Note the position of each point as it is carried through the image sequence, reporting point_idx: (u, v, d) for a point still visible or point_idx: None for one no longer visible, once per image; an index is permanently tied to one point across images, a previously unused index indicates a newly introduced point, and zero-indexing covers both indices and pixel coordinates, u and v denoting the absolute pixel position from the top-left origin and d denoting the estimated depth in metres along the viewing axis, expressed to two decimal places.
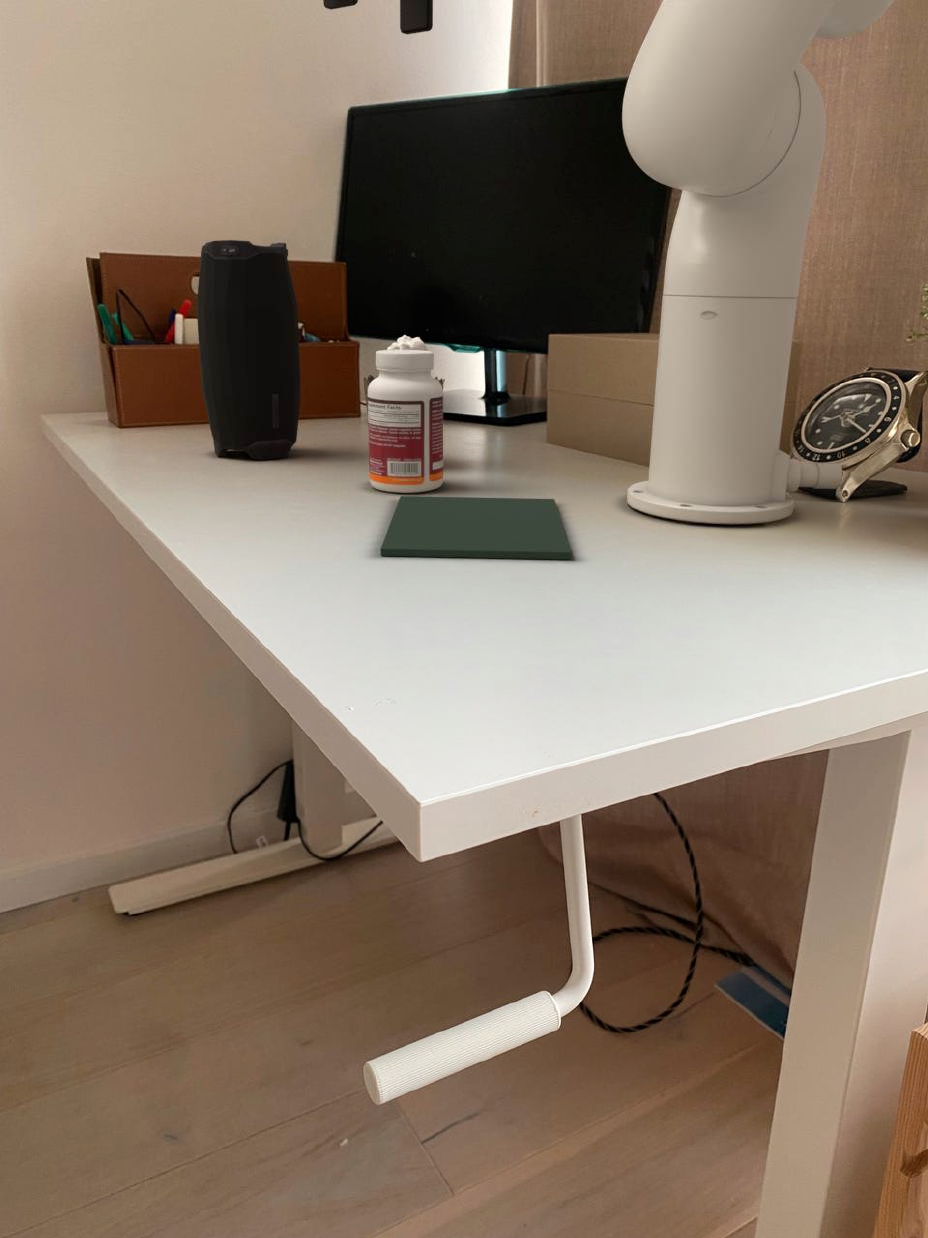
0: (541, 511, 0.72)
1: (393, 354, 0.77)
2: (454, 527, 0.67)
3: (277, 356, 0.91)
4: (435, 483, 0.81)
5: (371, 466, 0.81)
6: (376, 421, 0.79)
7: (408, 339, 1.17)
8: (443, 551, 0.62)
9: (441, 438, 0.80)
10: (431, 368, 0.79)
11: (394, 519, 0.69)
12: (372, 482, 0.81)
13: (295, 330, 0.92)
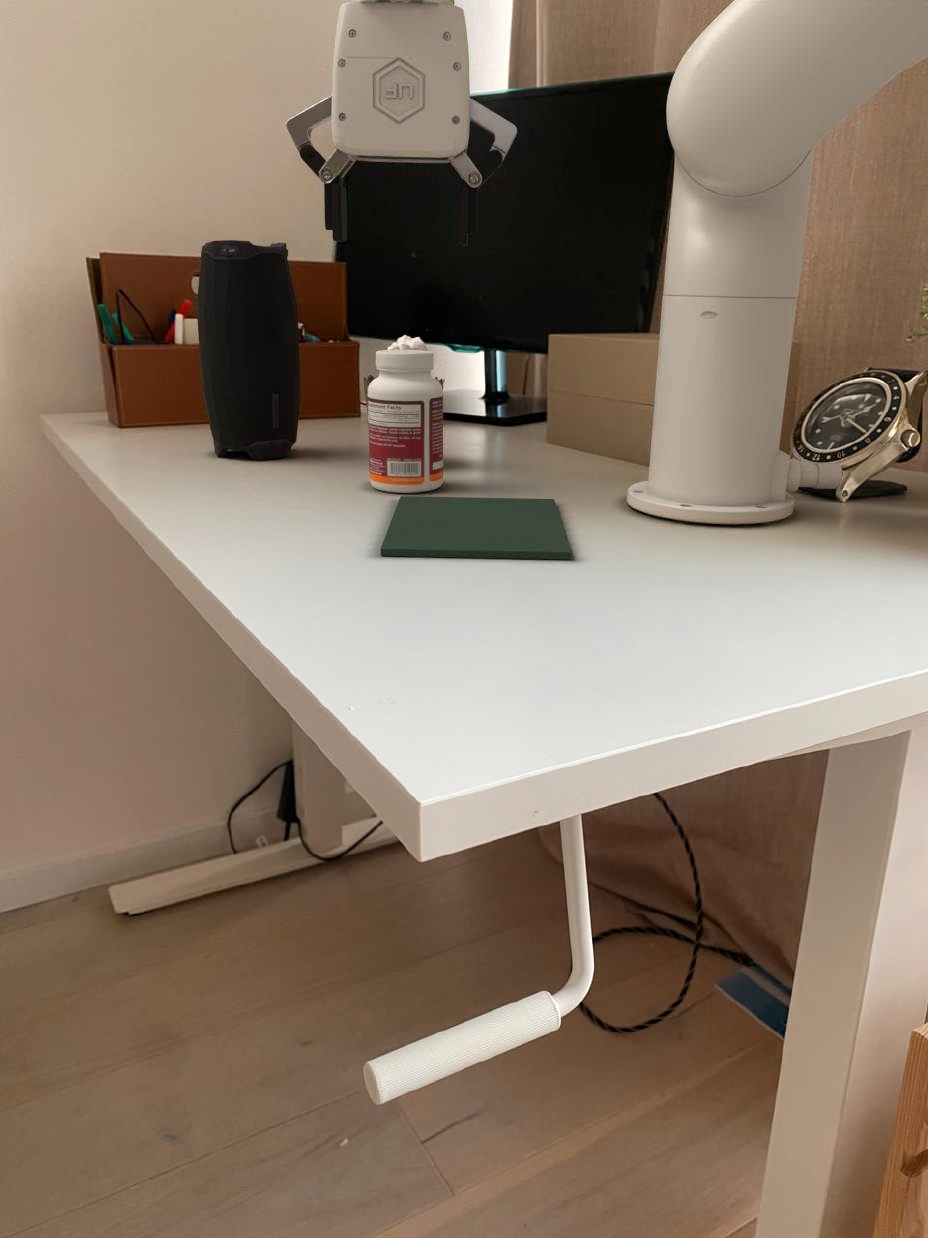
0: (541, 511, 0.72)
1: (393, 354, 0.77)
2: (454, 527, 0.67)
3: (277, 356, 0.91)
4: (435, 483, 0.81)
5: (371, 466, 0.81)
6: (376, 421, 0.79)
7: (408, 339, 1.17)
8: (443, 551, 0.62)
9: (441, 438, 0.80)
10: (431, 368, 0.79)
11: (394, 519, 0.69)
12: (372, 482, 0.81)
13: (295, 330, 0.92)
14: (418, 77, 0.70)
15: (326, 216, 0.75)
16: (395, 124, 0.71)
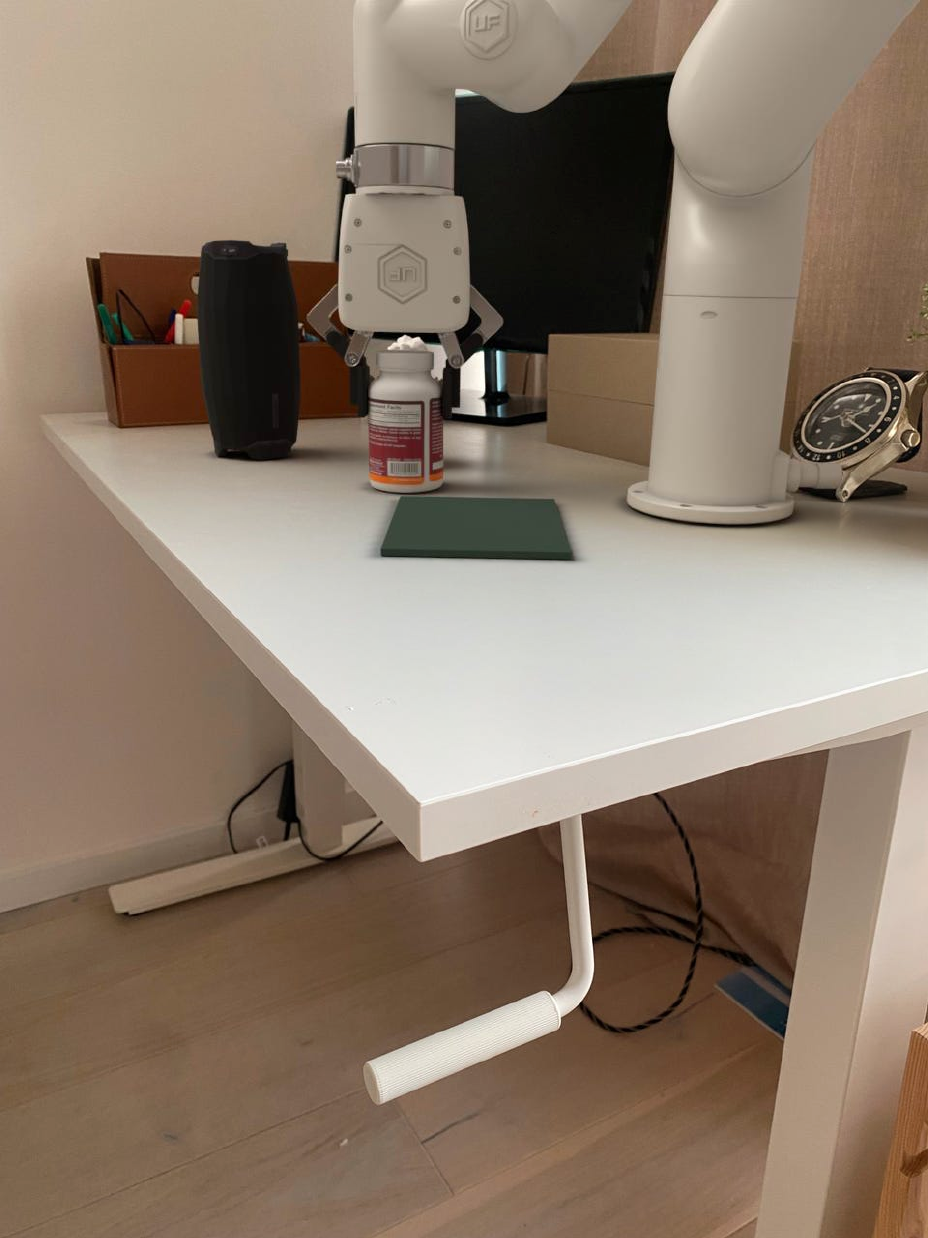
0: (541, 511, 0.72)
1: (393, 354, 0.77)
2: (454, 527, 0.67)
3: (277, 356, 0.91)
4: (435, 483, 0.81)
5: (371, 466, 0.81)
6: (376, 421, 0.79)
7: (408, 339, 1.17)
8: (443, 551, 0.62)
9: (441, 438, 0.80)
10: (431, 368, 0.79)
11: (394, 519, 0.69)
12: (372, 482, 0.81)
13: (295, 330, 0.92)
14: (421, 262, 0.74)
15: (351, 395, 0.79)
16: (399, 304, 0.75)
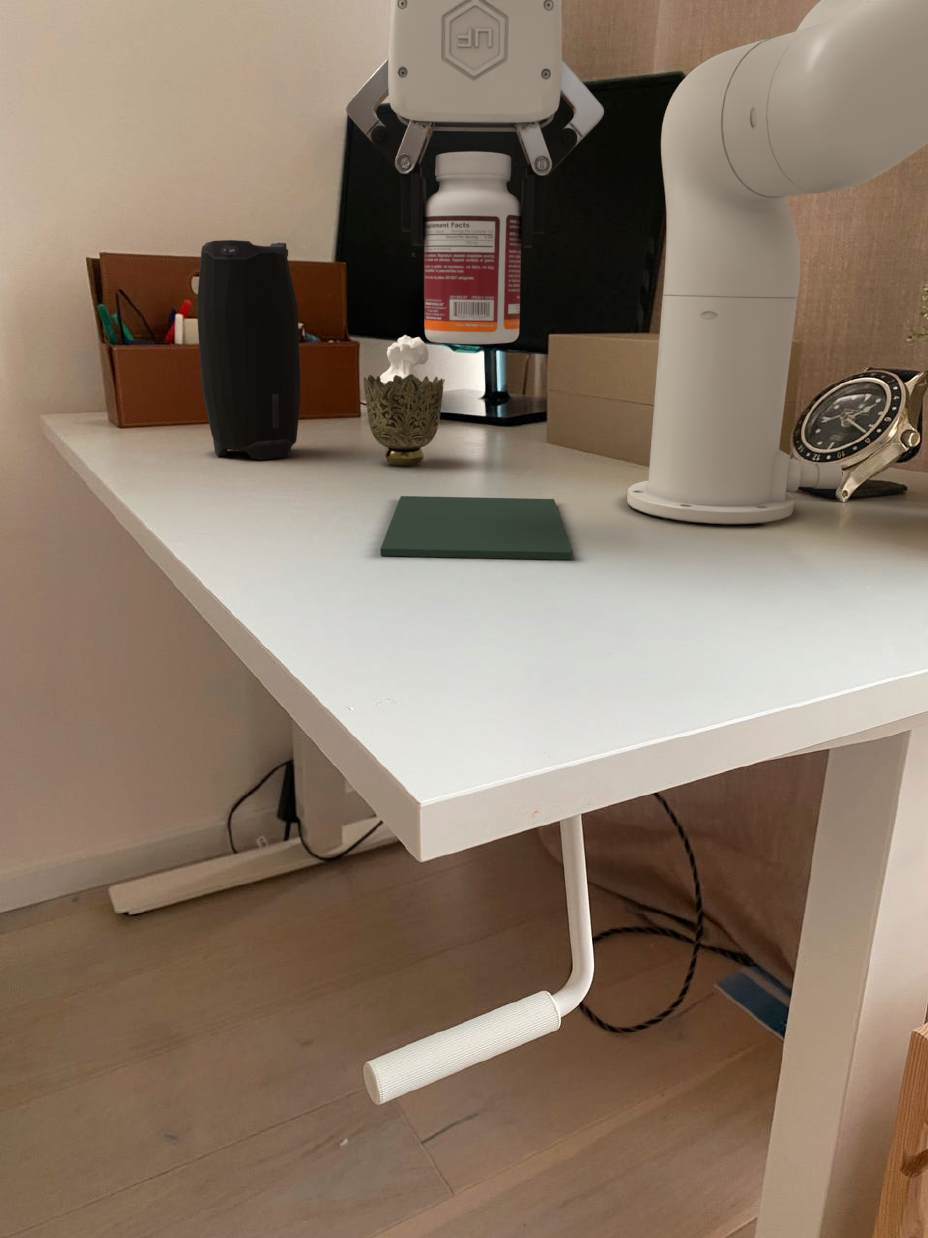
0: (541, 511, 0.72)
1: (460, 153, 0.58)
2: (454, 527, 0.67)
3: (277, 356, 0.91)
4: (511, 333, 0.62)
5: (427, 311, 0.62)
6: (436, 247, 0.60)
7: (408, 339, 1.17)
8: (443, 551, 0.62)
9: (519, 274, 0.62)
10: (508, 177, 0.60)
11: (394, 519, 0.69)
12: (428, 332, 0.63)
13: (295, 330, 0.92)
14: (500, 20, 0.55)
15: (403, 214, 0.61)
16: (469, 80, 0.57)
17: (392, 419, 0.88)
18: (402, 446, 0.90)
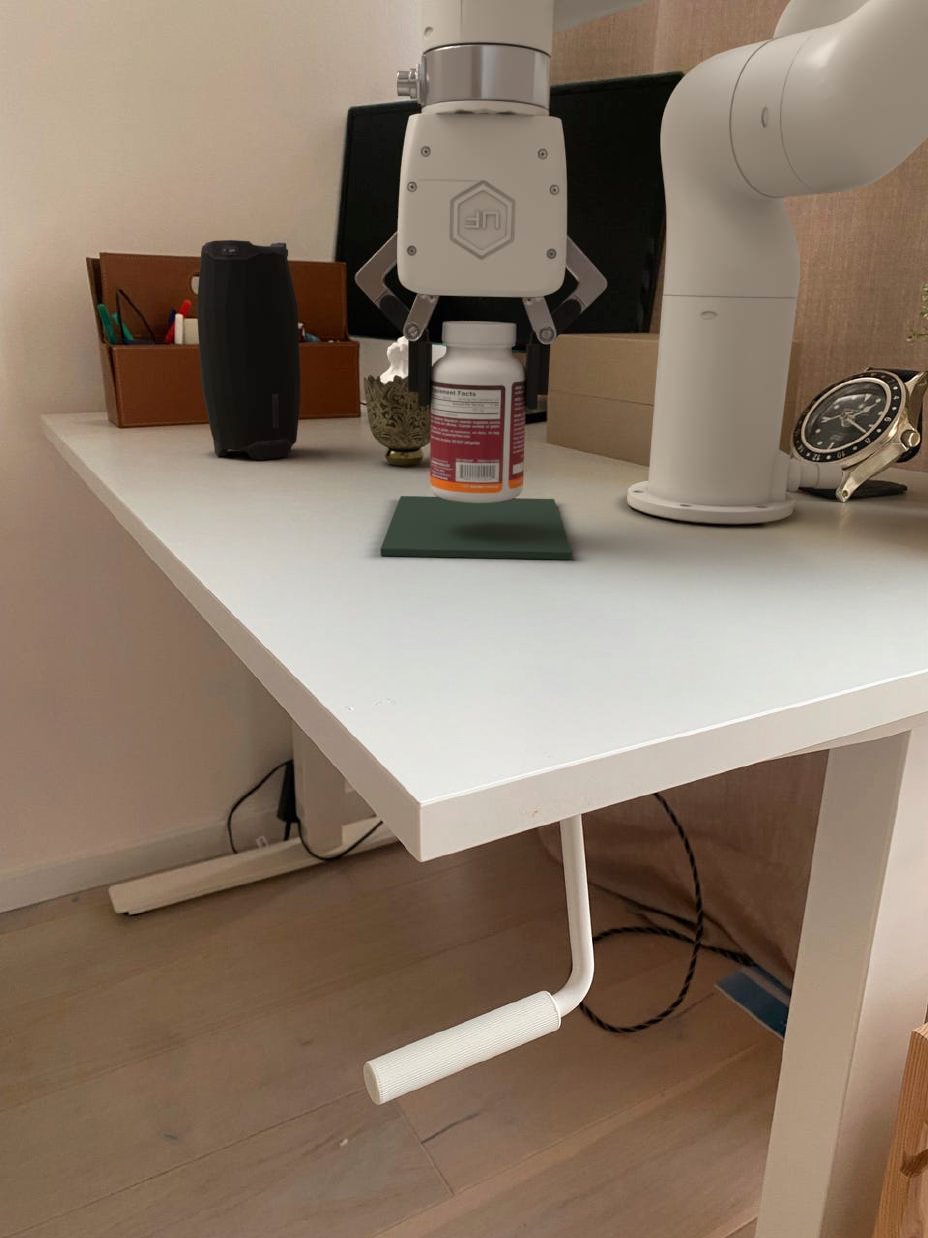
0: (541, 511, 0.72)
1: (467, 325, 0.60)
2: (454, 527, 0.67)
3: (277, 356, 0.91)
4: (515, 491, 0.63)
5: (434, 469, 0.63)
6: (443, 412, 0.61)
7: None
8: (443, 551, 0.62)
9: (523, 434, 0.63)
10: (513, 344, 0.61)
11: (394, 519, 0.69)
12: (434, 489, 0.64)
13: (295, 330, 0.92)
14: (507, 204, 0.57)
15: (410, 378, 0.62)
16: (477, 259, 0.58)
17: (392, 419, 0.88)
18: (402, 446, 0.90)
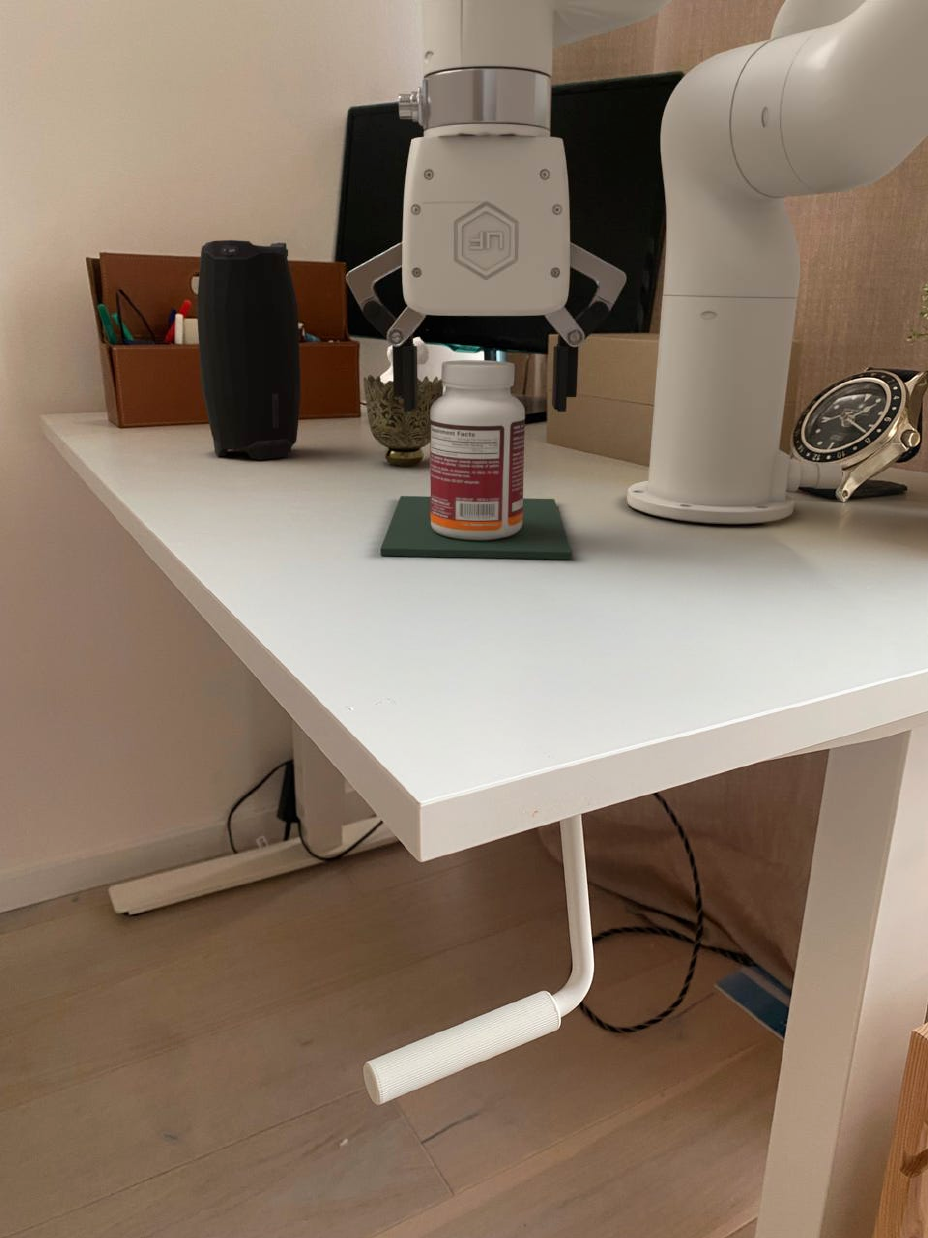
0: (541, 511, 0.72)
1: (466, 367, 0.60)
2: None
3: (277, 356, 0.91)
4: (514, 528, 0.64)
5: (434, 506, 0.64)
6: (442, 451, 0.62)
7: None
8: (443, 551, 0.62)
9: (522, 471, 0.64)
10: (512, 384, 0.62)
11: (394, 519, 0.69)
12: (435, 526, 0.65)
13: (295, 330, 0.92)
14: (510, 225, 0.57)
15: (395, 383, 0.62)
16: (481, 280, 0.58)
17: (392, 419, 0.88)
18: (402, 446, 0.90)
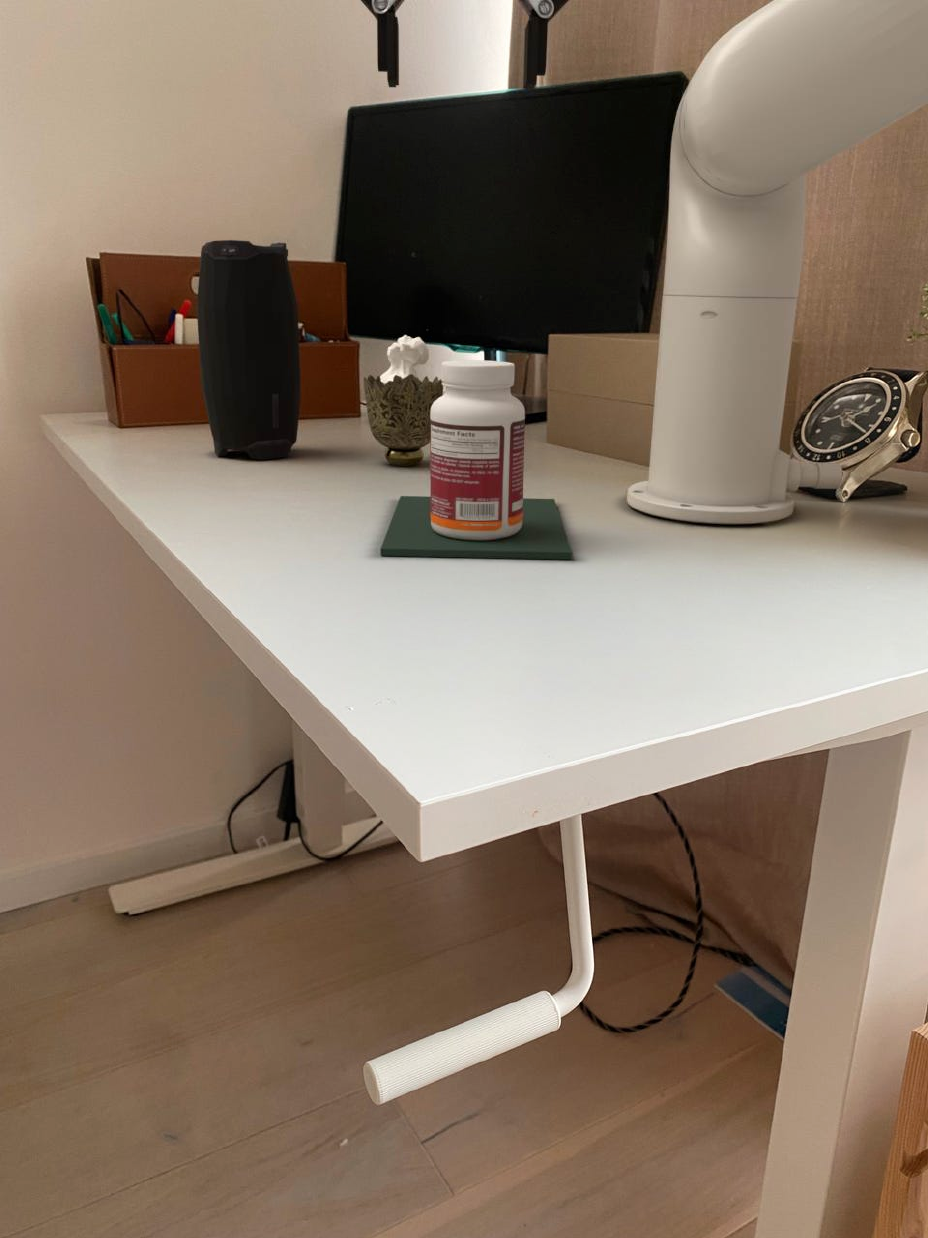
0: (541, 511, 0.72)
1: (466, 367, 0.60)
2: None
3: (277, 356, 0.91)
4: (514, 528, 0.64)
5: (434, 506, 0.64)
6: (443, 451, 0.62)
7: (409, 339, 1.17)
8: (443, 551, 0.62)
9: (522, 471, 0.64)
10: (512, 384, 0.62)
11: (394, 519, 0.69)
12: (435, 526, 0.65)
13: (295, 330, 0.92)
14: None
15: (379, 53, 0.68)
16: None
17: (392, 419, 0.88)
18: (402, 446, 0.90)
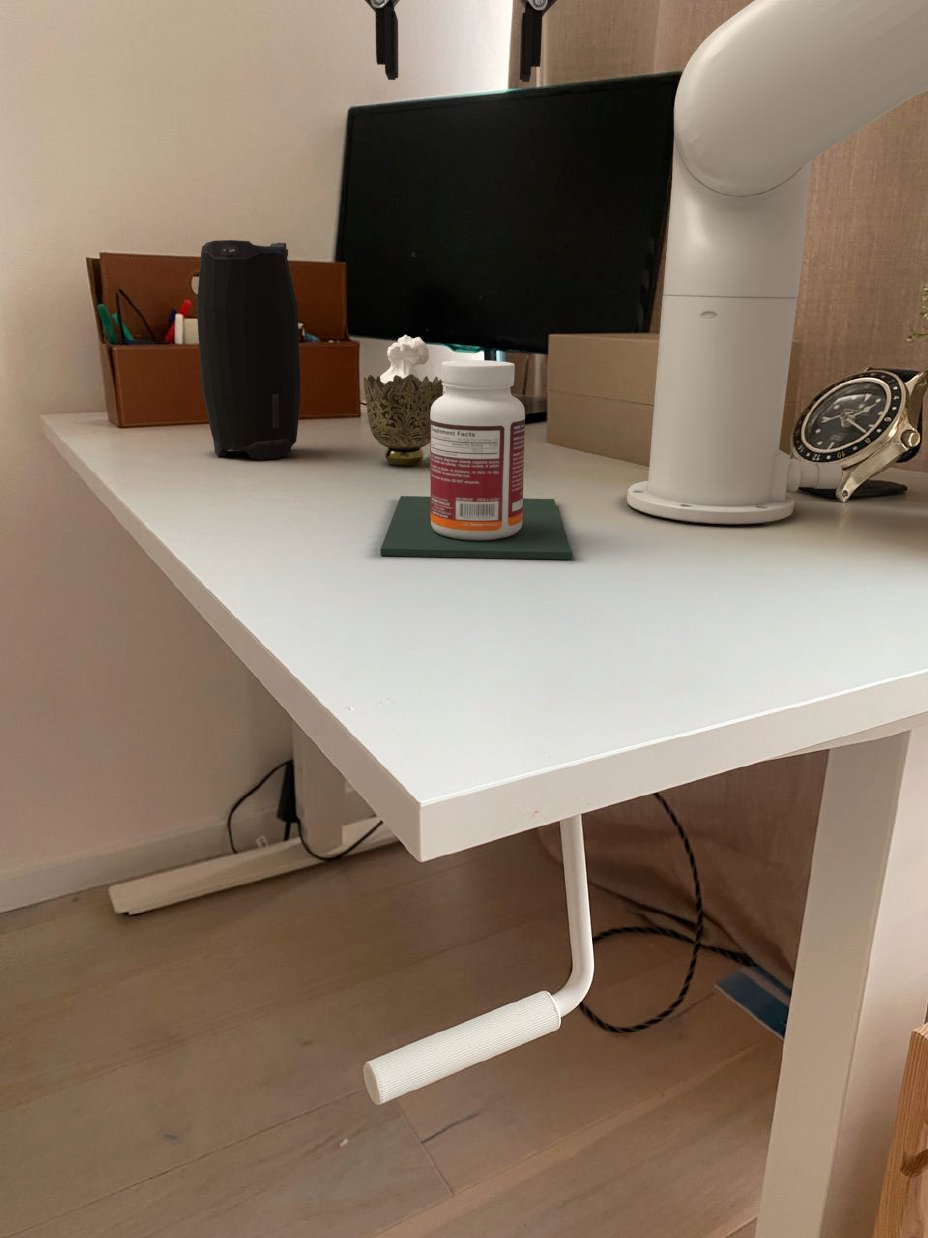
0: (541, 511, 0.72)
1: (466, 367, 0.60)
2: None
3: (277, 356, 0.91)
4: (514, 528, 0.64)
5: (434, 506, 0.64)
6: (443, 451, 0.62)
7: (409, 339, 1.17)
8: (443, 551, 0.62)
9: (522, 471, 0.64)
10: (512, 384, 0.62)
11: (394, 519, 0.69)
12: (435, 526, 0.65)
13: (295, 330, 0.92)
14: None
15: (377, 46, 0.69)
16: None
17: (392, 419, 0.88)
18: (402, 446, 0.90)
